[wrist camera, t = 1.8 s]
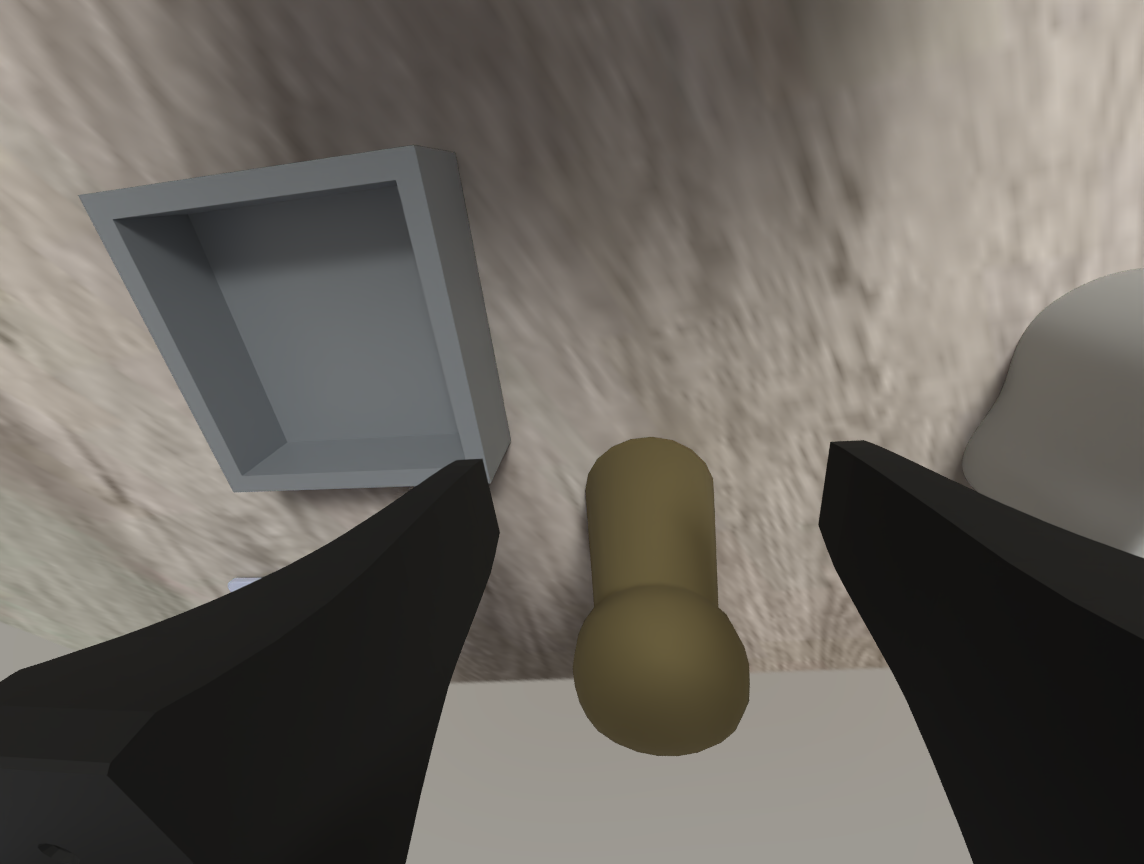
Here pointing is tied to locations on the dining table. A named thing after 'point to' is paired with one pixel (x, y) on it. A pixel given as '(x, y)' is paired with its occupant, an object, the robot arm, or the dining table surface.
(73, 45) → the dining table surface
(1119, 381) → the lumpy-topped squat cylinder
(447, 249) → the tote
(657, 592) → the cork
